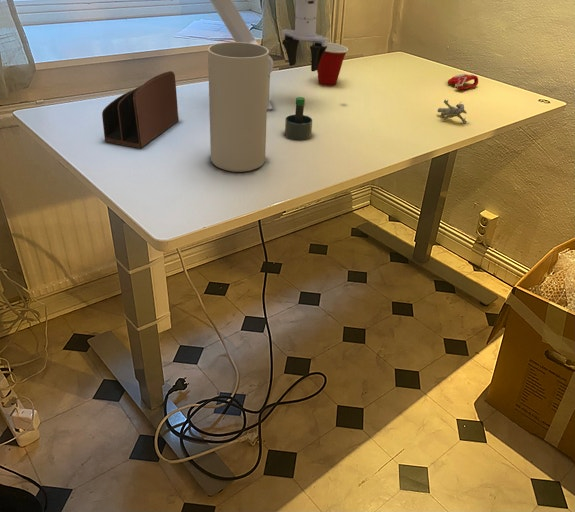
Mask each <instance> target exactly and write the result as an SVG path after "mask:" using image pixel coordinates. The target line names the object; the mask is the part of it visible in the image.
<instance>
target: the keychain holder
mask: <svg viewBox="0 0 575 512" xmlns="http://www.w3.org/2000/svg"><path fill="white" fill-rule="evenodd" d="M472 80H473V83H472V84H469V85H466V86H463V85H464V84H465V83H468V82H470V81H472ZM447 84H450V85H454V87H455V88H457V89H458V90H468V89H471V88H475V87H476V86H478V84H479V77H478V76H477V75H474V74H471V73H470V74H465V73H463V74H462V73H461V74H457V75H454V76H452V77H451V78H449V79H447Z"/></svg>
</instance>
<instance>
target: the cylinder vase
mask: <svg viewBox="0 0 575 512" xmlns="http://www.w3.org/2000/svg"><path fill="white" fill-rule="evenodd" d="M269 56H270V50H269V48H267V47H265V46H263V45H260V44H259V45H257V44H252V43H244V42H235V41H228V42H227V41H225V42H218V43H214V44H211V45H210V46H208V48H207V65H208V66H207V68H208V69H207V71H208V98H209V99H208V103H209V105H208V107H209V108H208V109H209V139H210V140H209V141H210V142H209V143H210V145H209V146H210V161H211V163H212V164H213V165H214V166H215V167H216V168H218V169H220V170H222V171H223V170H224V171H228V172H233V173H234V172H235V173H243V172H251V171H254V170H256V169H259V168H261V167H262V166H263V165H264V163H265V162H266V149H267V147H266V146H267V120H268V119H267V118H268V117H267V115H268V110H267V90H268V60H269Z"/></svg>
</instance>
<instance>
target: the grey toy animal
mask: <svg viewBox="0 0 575 512" xmlns="http://www.w3.org/2000/svg"><path fill="white" fill-rule="evenodd" d="M443 103H444V104H445V105H446V106H447V108H446V107H439V108H438V109H437V113H440V116H441V117H443V116H444V118H443V119H442V120H441V121H445V120H447V119H448V118H449V119H453V118H455V117H457V118H459V119H460V120H461V122H462V123H463V124H467V120H466V117H465V118H463V117H462V114H465V115H467V113H468V112H467V110H465V104H464V103H462V101H460V102H459V103H457V104H456V105H455V106H452V105H450V104H449V99H444V101H443Z"/></svg>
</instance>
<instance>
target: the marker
mask: <svg viewBox="0 0 575 512" xmlns="http://www.w3.org/2000/svg"><path fill="white" fill-rule="evenodd" d="M305 100H306V99H305V97H302V96H297V97H295V112H294V113H295V114H294V115H295V123H296V124H303V115H304V112H305V111H304V109H305Z"/></svg>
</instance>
